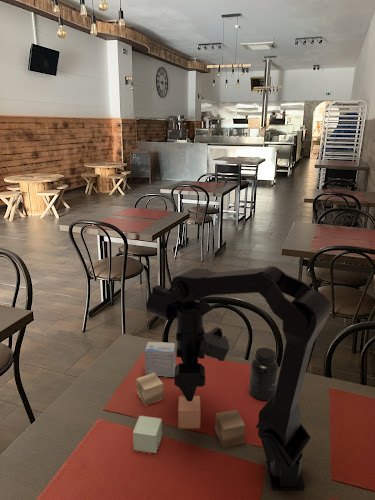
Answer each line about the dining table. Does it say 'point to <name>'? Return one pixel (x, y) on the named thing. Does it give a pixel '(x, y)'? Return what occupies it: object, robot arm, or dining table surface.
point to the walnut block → (230, 428)
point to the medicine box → (160, 359)
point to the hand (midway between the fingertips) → (189, 387)
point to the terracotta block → (189, 412)
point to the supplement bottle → (263, 374)
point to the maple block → (150, 388)
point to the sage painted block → (147, 434)
